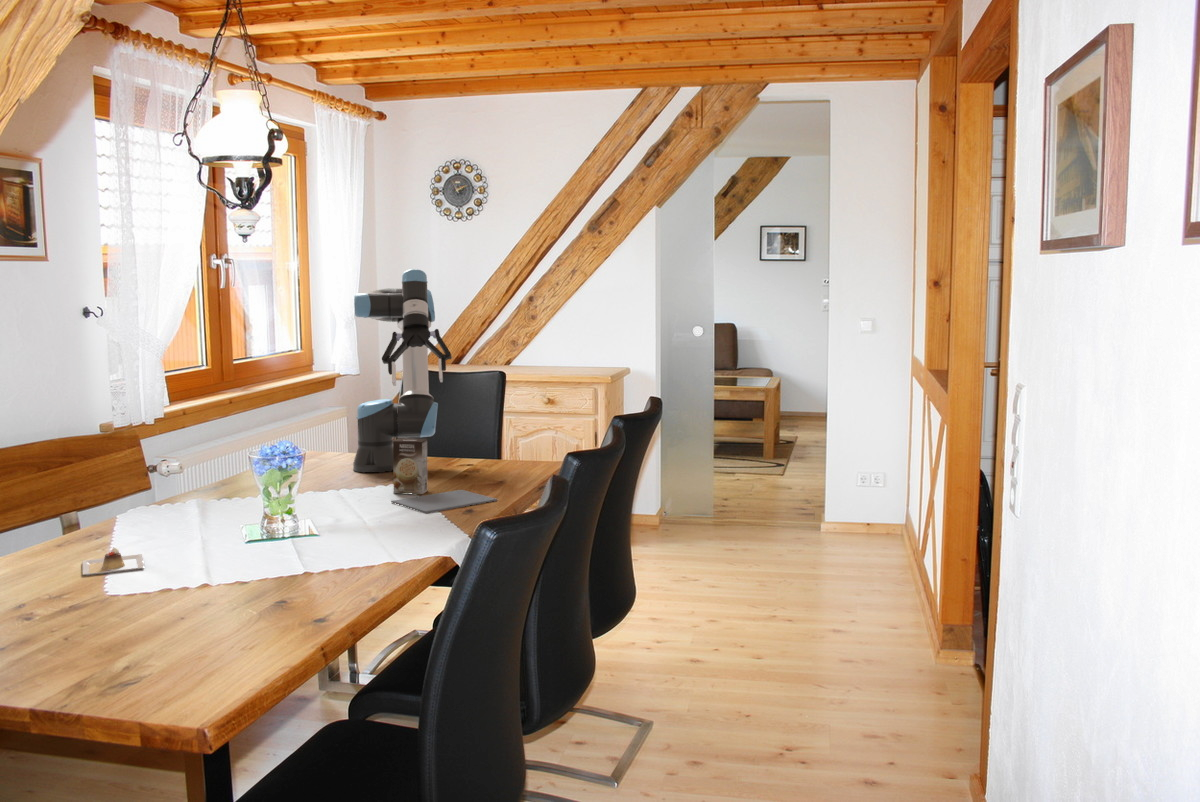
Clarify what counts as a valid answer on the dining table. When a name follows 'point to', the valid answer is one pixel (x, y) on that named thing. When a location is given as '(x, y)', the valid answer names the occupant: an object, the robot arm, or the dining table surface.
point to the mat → (444, 501)
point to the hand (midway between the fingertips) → (417, 382)
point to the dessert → (112, 562)
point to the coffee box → (410, 465)
